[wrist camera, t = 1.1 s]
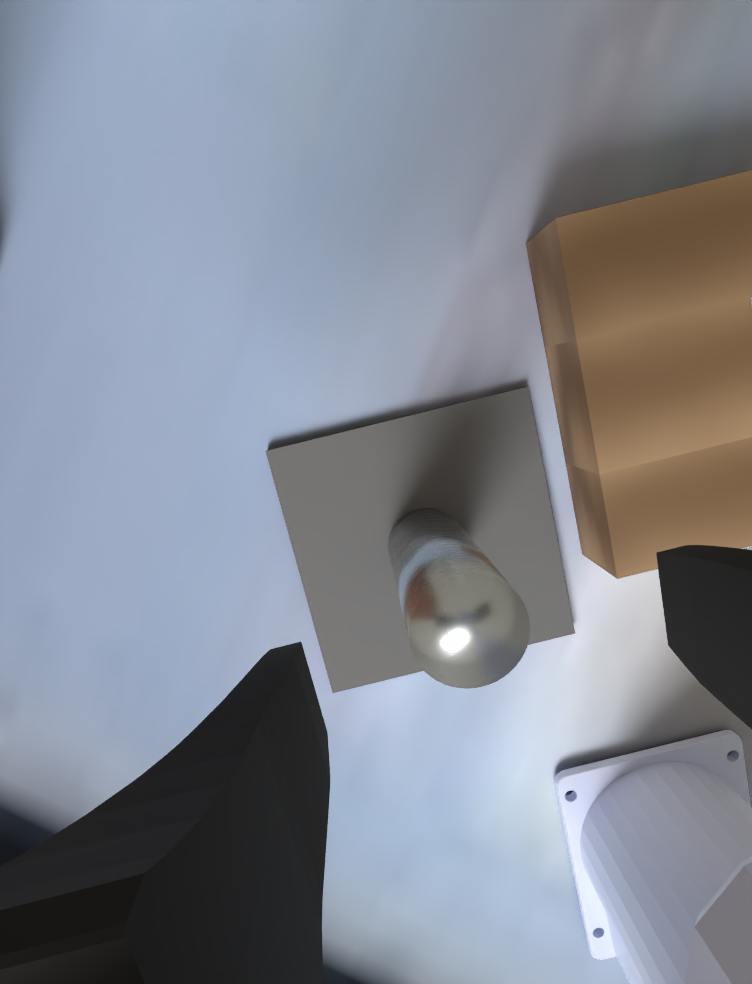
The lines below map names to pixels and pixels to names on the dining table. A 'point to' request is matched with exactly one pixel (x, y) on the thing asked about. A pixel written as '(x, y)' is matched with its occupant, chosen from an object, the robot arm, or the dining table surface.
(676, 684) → the dining table surface
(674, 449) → the block
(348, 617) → the mat
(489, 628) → the peg
